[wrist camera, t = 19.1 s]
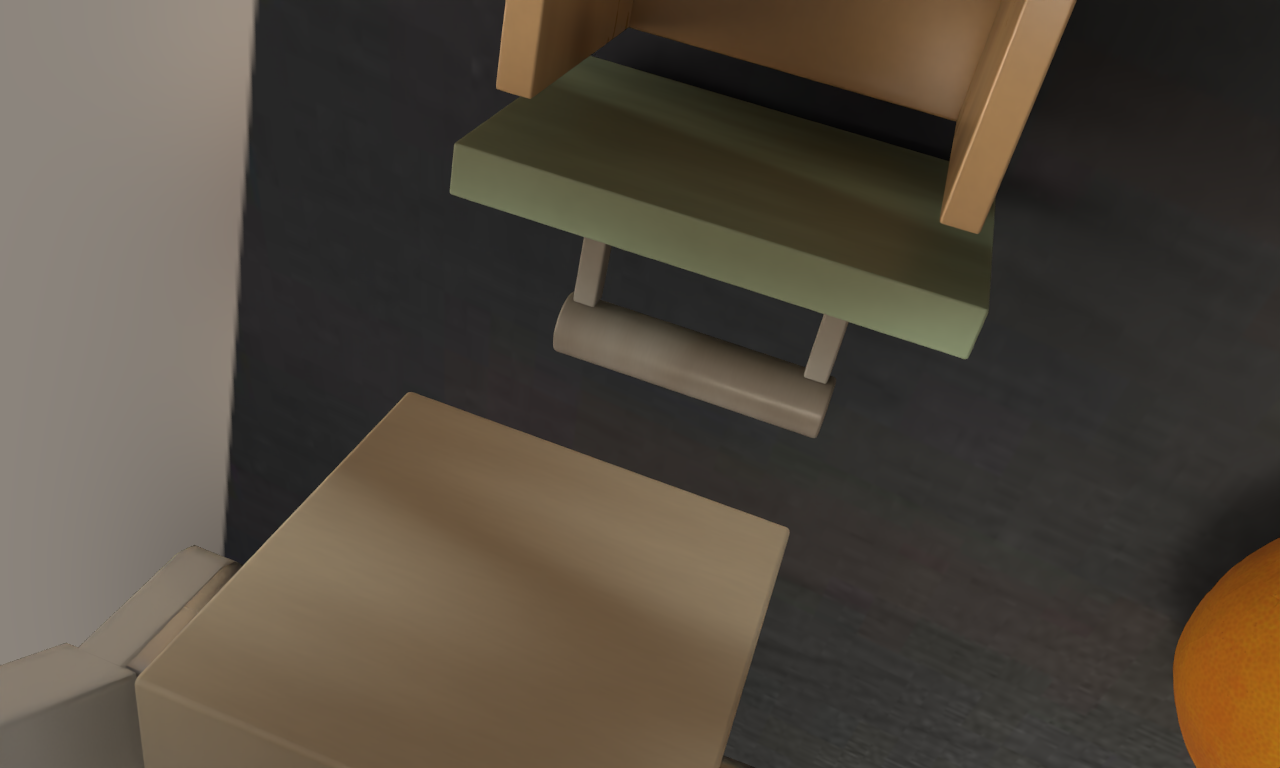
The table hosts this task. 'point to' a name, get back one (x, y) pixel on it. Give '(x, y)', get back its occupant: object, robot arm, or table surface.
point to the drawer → (764, 175)
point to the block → (472, 616)
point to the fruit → (1233, 668)
